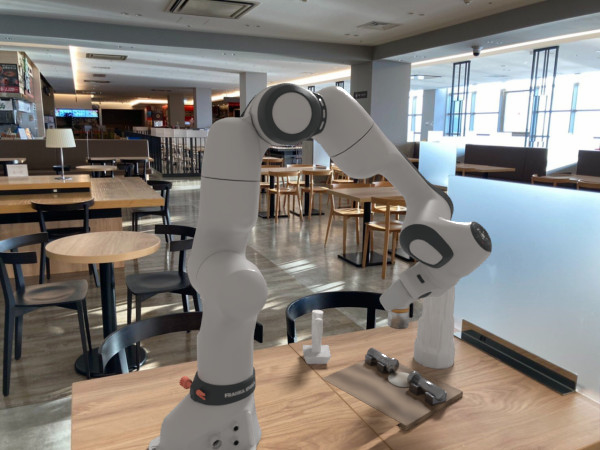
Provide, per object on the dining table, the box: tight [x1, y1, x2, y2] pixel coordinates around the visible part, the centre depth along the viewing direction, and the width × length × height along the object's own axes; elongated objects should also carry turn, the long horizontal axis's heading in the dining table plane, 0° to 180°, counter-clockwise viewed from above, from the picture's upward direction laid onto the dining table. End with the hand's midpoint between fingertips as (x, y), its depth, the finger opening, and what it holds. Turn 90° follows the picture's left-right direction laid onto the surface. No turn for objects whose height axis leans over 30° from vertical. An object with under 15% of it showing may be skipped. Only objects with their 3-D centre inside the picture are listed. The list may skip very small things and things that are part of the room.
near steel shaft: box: [407, 370, 447, 406], centre depth 113 cm, size 9×4×4 cm, turn 31°
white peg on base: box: [302, 309, 332, 365], centre depth 130 cm, size 7×9×15 cm
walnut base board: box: [321, 359, 464, 431], centre depth 118 cm, size 22×26×2 cm
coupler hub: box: [387, 304, 410, 330], centre depth 117 cm, size 5×5×9 cm
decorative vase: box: [413, 285, 456, 370], centre depth 132 cm, size 11×11×25 cm
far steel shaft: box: [364, 347, 400, 374], centre depth 127 cm, size 9×4×4 cm, turn 31°
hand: (396, 305), depth 118 cm, fingers closed on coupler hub, 5 cm apart
